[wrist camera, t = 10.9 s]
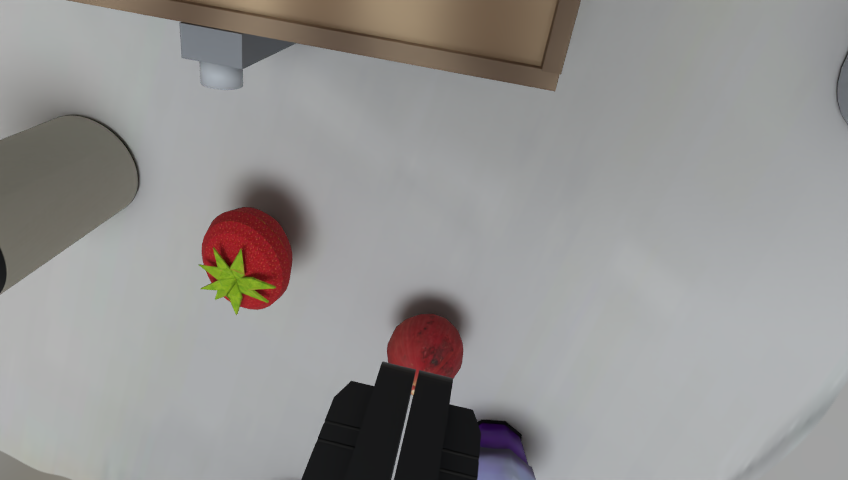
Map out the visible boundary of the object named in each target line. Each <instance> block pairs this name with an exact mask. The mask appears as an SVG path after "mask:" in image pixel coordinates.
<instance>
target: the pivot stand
mask: <svg viewBox="0 0 848 480" xmlns="http://www.w3.org/2000/svg"><path fill="white" fill-rule="evenodd" d="M179 24H180V39H181V54H182V58H185V59H190V60H196V61H200V78H201V84H202V85H203V86H206V87H209V88H213V89H221V90H233V89H239V88H241V87H242V86H243V69H244V68H246V67H248V66H250V65H252V64H254V63H256V62H258V61H260V60H262V59H264V58H266V57H269V56H271V55H273V54H275V53H277V52H279V51H281V50H283V49H285V48H287V47H289V46H291V45H293V44H295V43H294V42H288V41H283V40H277V39H272V38H267V37H261V36H256V35H251V34H245V33H240V32H235V31H229V30H224V29H218V28H213V27H208V26H202V25H197V24H192V23H186V22H181V23H179Z"/></svg>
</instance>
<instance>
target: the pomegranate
mask: <svg viewBox="0 0 848 480" xmlns="http://www.w3.org/2000/svg"><path fill="white" fill-rule="evenodd" d="M387 356H388V363H391V364H395V365H399V366H403V367H408V368H412V369H416V372H415V377H414V382H413V386H412V391H411V394H412V395H414V391H415V386H416V382H417V378H418V373H419V370H421V371H425V372H429V373H434V374H438V375H442V376H446V377H450V378H454V377H455V375H456V374H457V372H458V371H459V369H460V368H461V364H462V358H463V343H462V340H461V338H460V335H459V332H458V330H457V329H456V328H455V327H454V326H453V325H452V324H451V323H450V322H449V321H448V320H447V319H446V318H444V317H441V316H438V315H435V314H420V315H417V316H414V317H411V318H408V319H406V320H404V321H403V322H402V323H401V324H400V325H398V326H397V327H396V329H395V330H394V332H393V334H392V336H391V338H390V341H389V343H388V347H387Z"/></svg>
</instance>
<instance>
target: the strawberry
mask: <svg viewBox="0 0 848 480" xmlns="http://www.w3.org/2000/svg"><path fill="white" fill-rule="evenodd" d="M202 259H203V263H204V265H199V264H198V265H199V266H201V267H202V268H203V269H205V270H206V272H207V274H208V277H209V279H210V281H211V282H212V283H211V284H209V285H207V286H205V287H202V288H201V289H207V290H217V294H216V298H215V300H216V299H219V298H222V297H224V298H226V299H227V300H229V301H230V302H231V304H232V306H233V309H234V311H235V313H236V315H237V314H238V311H239V307H244V308H247V309H256V310H257V309H263V308H266V307H268V306H270V305H271V304H273V303H274V302H275V301H276V300H277V299H278V298H280V297H281V296H282V295H283V293H284V292H285V291H286V289H287V286H288V284H289V280H290V273H291V267H292V251H291V246H290V243H289V241H288V238H287V236H286V234H285V232H284V230H283V229H282V227H281V225H280V224H279V223H278V222H277V221H276V220H275V219H274V218H273V217H271V216H270V215H268V214H266V213H264V212H262V211H260V210H258V209H255V208H251V207H243V208H238V209H235V210H231V211H228V212H224V213H222V214H221V215H219V216H217V217H216V218H215V219H214V220H213V221H212V223H211V225H210V227H209V229H208V230H207V232H206V234H205V236H204V239H203V243H202Z"/></svg>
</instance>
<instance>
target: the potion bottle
mask: <svg viewBox="0 0 848 480" xmlns="http://www.w3.org/2000/svg"><path fill="white" fill-rule="evenodd" d="M477 423H478V425H479V428H480V431H481V442H480V455H479V468H478V478H477V480H536V479H535V476H534V472H533V469H532V467H530V466H529V465H528V462H527V459H526V456H525V452H524V449H523V446H522V443H521V436H522V435H521V434H520V433H519V432H518V431H516V430H515V429H514V428H513V427H512V426H510V425H509V424H508V423H507V422H505V421H493V420H480V421H479V422H477Z"/></svg>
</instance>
